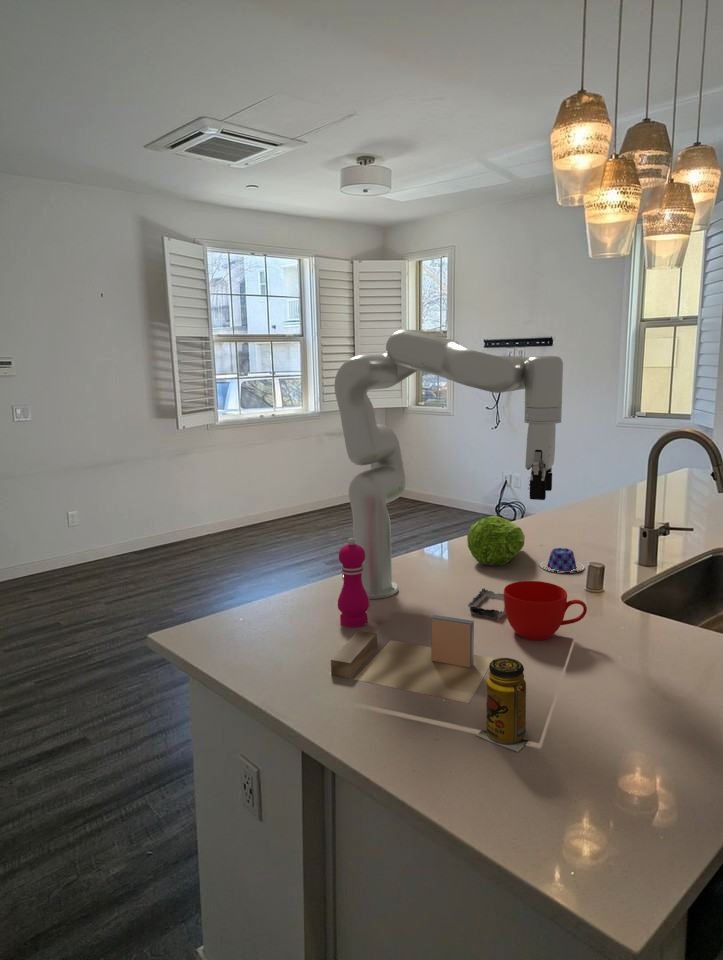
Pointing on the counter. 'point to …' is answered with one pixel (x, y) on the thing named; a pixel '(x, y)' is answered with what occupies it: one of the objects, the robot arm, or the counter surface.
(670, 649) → the counter surface
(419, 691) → the cork mat
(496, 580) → the counter surface
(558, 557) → the blue bucket hat
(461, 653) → the slate tile
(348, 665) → the walnut turner
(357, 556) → the pepper mill
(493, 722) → the condiment
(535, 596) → the ceramic cup
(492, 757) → the counter surface
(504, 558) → the lettuce
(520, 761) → the counter surface
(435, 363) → the robot arm
